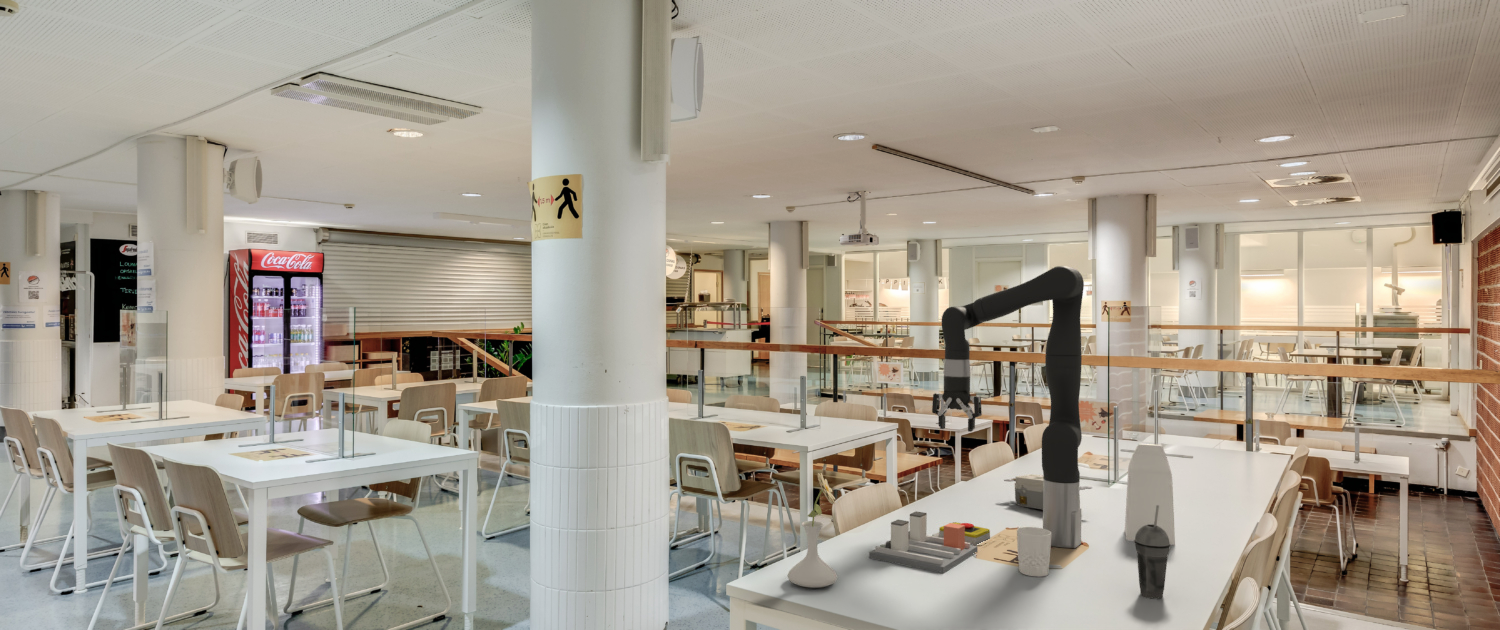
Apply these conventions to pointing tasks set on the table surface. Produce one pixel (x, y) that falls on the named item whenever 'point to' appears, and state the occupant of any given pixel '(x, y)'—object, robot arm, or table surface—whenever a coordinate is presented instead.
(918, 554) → the board
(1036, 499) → the grey labelled box
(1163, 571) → the beverage cup
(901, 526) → the block
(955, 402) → the robot arm
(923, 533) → the off-white rectangular block
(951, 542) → the cap
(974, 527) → the emergency button
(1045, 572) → the white cup
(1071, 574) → the table surface
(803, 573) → the flower in vase
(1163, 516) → the milk
